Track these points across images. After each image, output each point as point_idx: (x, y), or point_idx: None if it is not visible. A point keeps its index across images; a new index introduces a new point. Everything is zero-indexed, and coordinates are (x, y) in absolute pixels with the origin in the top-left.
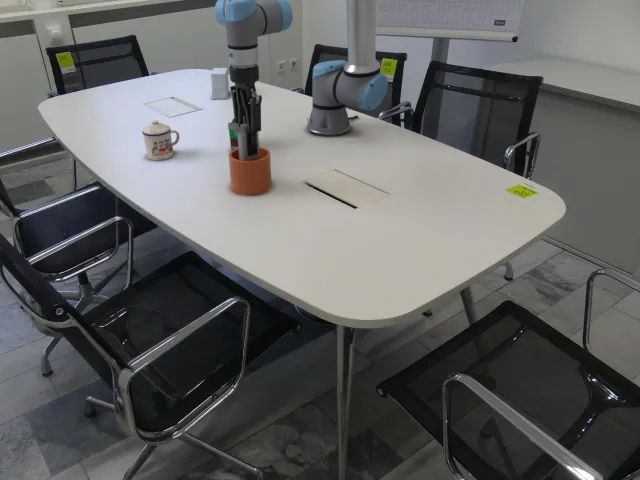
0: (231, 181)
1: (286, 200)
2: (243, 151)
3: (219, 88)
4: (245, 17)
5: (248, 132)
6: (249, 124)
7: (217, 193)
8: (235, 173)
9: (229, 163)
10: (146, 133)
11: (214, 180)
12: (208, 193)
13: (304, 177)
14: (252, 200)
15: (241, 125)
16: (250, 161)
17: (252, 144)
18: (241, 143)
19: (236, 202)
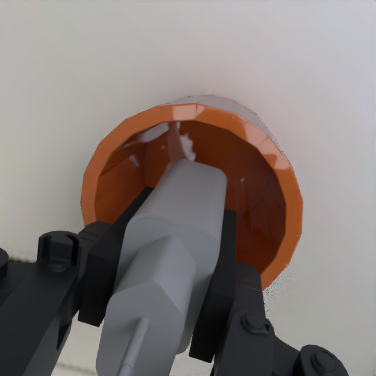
0: (237, 103)
1: (51, 166)
2: (163, 177)
3: None
4: None
5: (41, 242)
6: (3, 310)
7: (264, 40)
8: (192, 99)
9: (252, 120)
10: None
11: (363, 115)
12: (295, 12)
13: None
14: (122, 93)
15: (155, 297)
16: (102, 149)
17: (96, 222)
18: (160, 190)
19: (150, 41)
